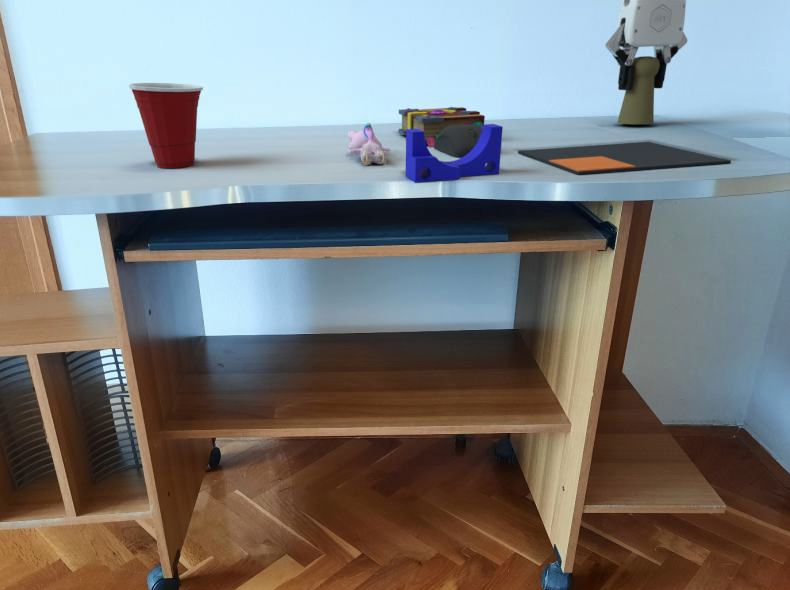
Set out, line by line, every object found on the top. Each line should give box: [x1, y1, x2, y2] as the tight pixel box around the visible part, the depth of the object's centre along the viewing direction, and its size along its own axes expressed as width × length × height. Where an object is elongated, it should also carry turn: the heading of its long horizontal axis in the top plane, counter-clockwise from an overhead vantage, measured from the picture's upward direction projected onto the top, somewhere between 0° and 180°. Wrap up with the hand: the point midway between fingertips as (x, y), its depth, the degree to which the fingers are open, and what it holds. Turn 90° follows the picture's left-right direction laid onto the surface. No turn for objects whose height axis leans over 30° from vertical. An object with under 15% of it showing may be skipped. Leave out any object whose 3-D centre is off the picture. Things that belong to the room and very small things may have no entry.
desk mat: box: [517, 141, 732, 176], centre depth 92 cm, size 22×18×1 cm
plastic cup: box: [128, 82, 204, 169], centre depth 97 cm, size 11×11×12 cm
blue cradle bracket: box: [405, 123, 504, 183], centre depth 84 cm, size 12×4×6 cm, turn 100°
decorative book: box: [398, 106, 486, 148], centre depth 113 cm, size 11×16×5 cm
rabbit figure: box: [347, 122, 391, 167], centre depth 97 cm, size 6×6×15 cm
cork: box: [617, 55, 660, 125], centre depth 115 cm, size 6×6×11 cm
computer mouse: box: [433, 124, 482, 158], centre depth 101 cm, size 6×11×4 cm, turn 12°
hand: (640, 87), depth 114 cm, fingers closed on cork, 5 cm apart
